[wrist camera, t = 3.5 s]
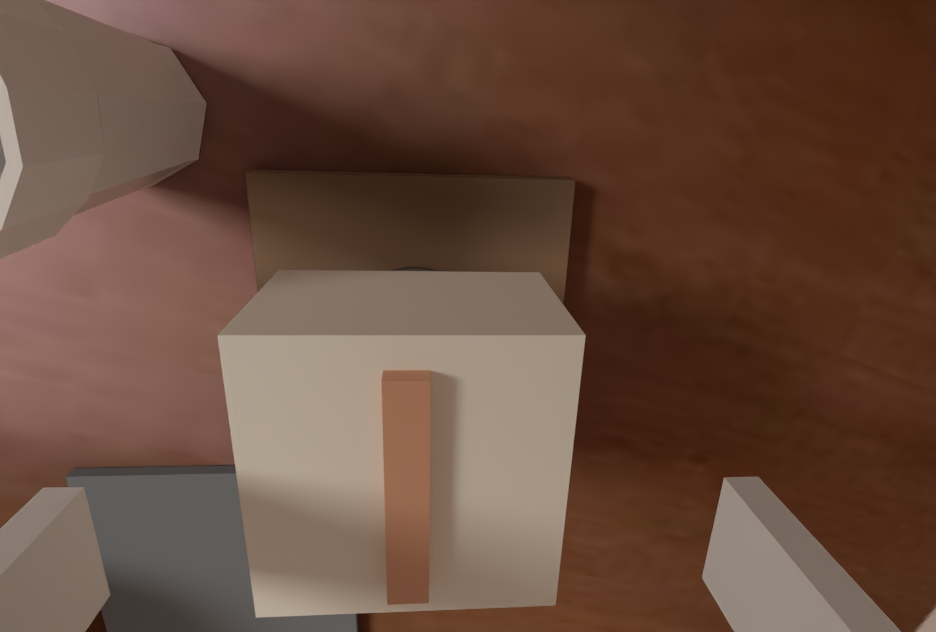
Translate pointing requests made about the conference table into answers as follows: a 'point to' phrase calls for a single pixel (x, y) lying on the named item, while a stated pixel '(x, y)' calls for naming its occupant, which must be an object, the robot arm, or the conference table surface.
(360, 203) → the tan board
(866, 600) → the robot arm
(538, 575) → the white cube
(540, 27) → the conference table surface
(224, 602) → the mat
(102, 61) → the cup
